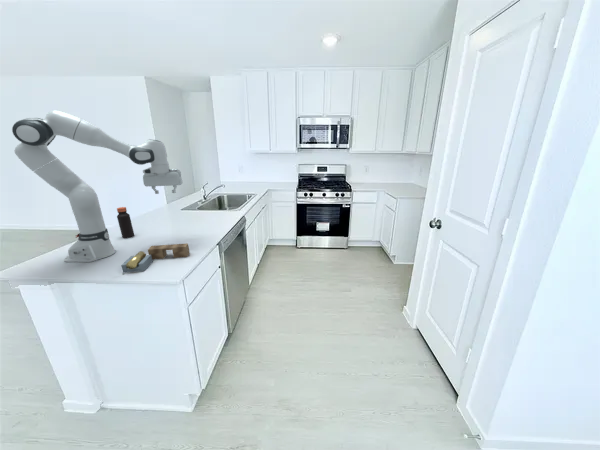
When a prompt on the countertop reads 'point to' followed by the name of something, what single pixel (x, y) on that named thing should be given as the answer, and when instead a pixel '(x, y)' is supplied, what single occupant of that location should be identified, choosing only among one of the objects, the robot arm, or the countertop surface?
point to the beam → (177, 249)
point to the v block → (141, 266)
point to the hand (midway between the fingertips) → (165, 193)
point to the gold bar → (136, 260)
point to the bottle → (125, 223)
